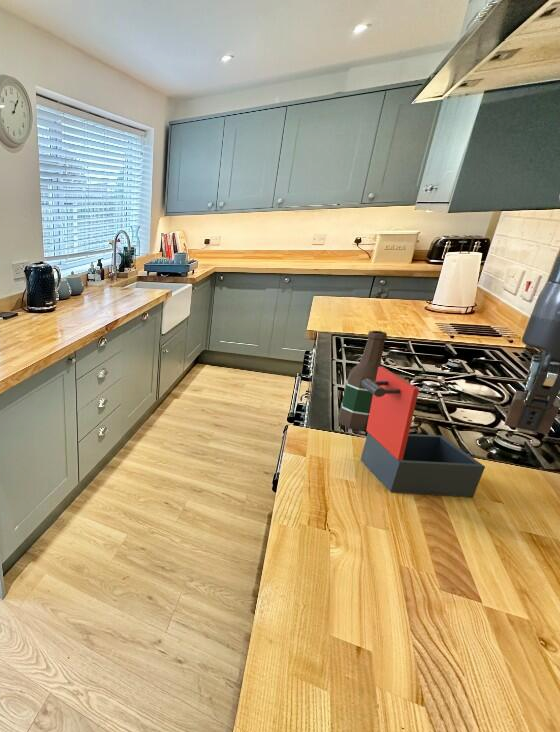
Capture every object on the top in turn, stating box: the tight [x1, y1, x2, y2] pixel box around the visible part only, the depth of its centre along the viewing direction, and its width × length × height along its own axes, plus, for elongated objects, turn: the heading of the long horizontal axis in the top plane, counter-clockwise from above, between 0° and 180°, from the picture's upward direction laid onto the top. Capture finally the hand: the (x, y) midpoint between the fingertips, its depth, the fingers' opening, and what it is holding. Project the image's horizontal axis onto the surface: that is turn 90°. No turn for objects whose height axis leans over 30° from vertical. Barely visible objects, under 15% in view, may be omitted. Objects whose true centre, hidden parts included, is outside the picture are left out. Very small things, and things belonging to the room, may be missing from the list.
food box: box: [360, 432, 486, 498], centre depth 83 cm, size 14×12×7 cm
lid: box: [361, 366, 420, 460], centre depth 80 cm, size 14×12×5 cm
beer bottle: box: [338, 330, 388, 432], centre depth 101 cm, size 8×8×24 cm
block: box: [504, 390, 560, 435], centre depth 64 cm, size 4×4×4 cm
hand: (526, 422), depth 64 cm, fingers closed on block, 4 cm apart
